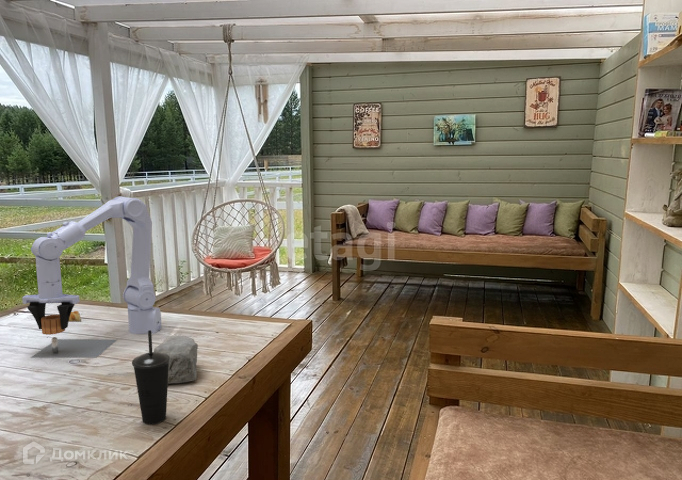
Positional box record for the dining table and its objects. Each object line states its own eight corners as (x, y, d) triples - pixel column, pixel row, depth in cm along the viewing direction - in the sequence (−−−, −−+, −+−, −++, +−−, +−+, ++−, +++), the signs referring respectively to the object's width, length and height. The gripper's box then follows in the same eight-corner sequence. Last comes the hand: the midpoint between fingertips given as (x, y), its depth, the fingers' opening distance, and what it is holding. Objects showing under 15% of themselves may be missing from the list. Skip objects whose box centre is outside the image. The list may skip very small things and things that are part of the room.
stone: (152, 369, 136) (150, 333, 134) (196, 364, 140) (195, 329, 138) (152, 390, 124) (150, 351, 122) (201, 383, 128) (199, 345, 126)
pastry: (52, 329, 167) (51, 318, 166) (47, 324, 172) (46, 313, 171) (82, 323, 173) (82, 312, 172) (77, 318, 178) (76, 308, 177)
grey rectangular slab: (117, 344, 154) (117, 339, 153) (96, 362, 140) (96, 357, 140) (57, 343, 153) (57, 339, 153) (30, 362, 139) (30, 357, 139)
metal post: (59, 351, 143) (58, 336, 143) (56, 353, 142) (55, 338, 141) (54, 351, 143) (53, 336, 143) (51, 353, 142) (50, 338, 141)
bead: (68, 327, 144) (67, 314, 144) (58, 334, 139) (57, 320, 138) (49, 327, 144) (47, 314, 144) (37, 334, 139) (36, 320, 138)
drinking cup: (141, 410, 114) (136, 325, 111) (176, 409, 114) (172, 324, 111) (130, 428, 106) (124, 337, 103) (167, 427, 107) (163, 336, 104)
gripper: (13, 284, 135) (18, 332, 137) (68, 284, 136) (72, 333, 138) (29, 277, 142) (33, 324, 144) (81, 278, 143) (84, 324, 145)
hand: (53, 328), depth 142 cm, fingers closed on bead, 6 cm apart
